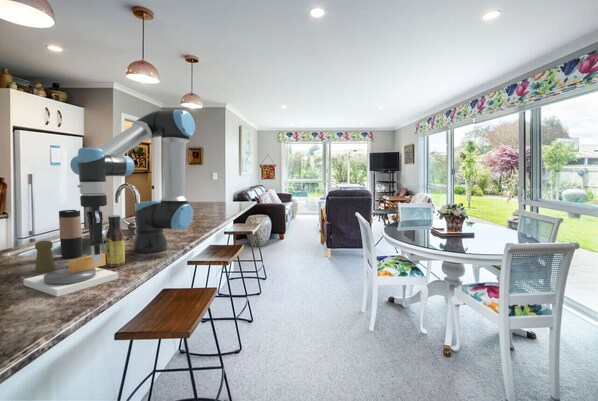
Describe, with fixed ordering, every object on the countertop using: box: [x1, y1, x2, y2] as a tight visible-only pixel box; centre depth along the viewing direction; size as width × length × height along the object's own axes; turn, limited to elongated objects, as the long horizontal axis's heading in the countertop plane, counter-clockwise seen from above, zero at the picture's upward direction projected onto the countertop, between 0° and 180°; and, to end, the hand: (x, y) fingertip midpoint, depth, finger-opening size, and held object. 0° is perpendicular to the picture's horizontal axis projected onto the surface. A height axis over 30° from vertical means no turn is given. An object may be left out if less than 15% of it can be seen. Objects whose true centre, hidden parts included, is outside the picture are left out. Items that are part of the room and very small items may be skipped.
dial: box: [43, 252, 107, 285], centre depth 109 cm, size 18×14×6 cm
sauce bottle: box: [105, 214, 126, 268], centre depth 127 cm, size 6×6×20 cm
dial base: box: [23, 267, 119, 297], centre depth 110 cm, size 19×20×2 cm
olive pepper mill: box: [34, 239, 56, 273], centre depth 122 cm, size 6×6×11 cm
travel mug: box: [58, 209, 83, 260], centre depth 140 cm, size 8×8×20 cm
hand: (97, 263), depth 111 cm, fingers closed
